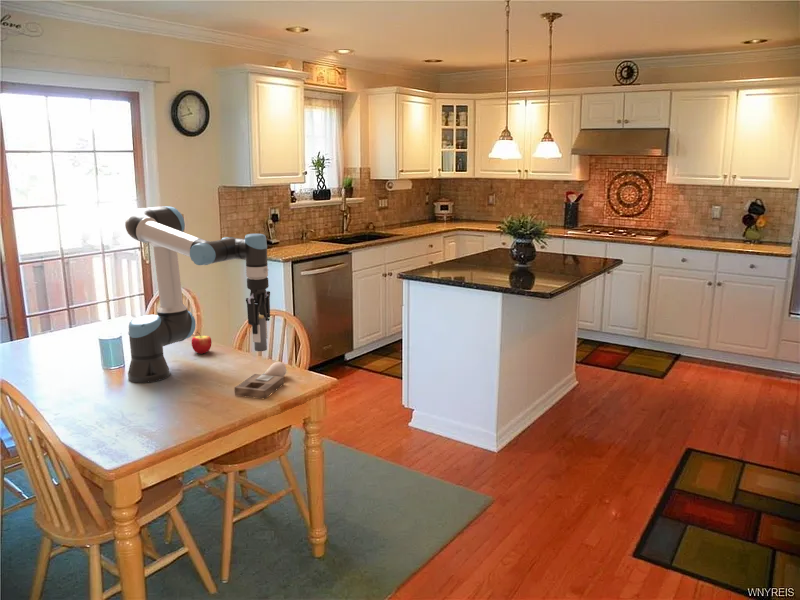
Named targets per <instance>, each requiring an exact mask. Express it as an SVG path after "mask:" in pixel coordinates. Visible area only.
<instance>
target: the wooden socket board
mask: <svg viewBox="0 0 800 600" xmlns="http://www.w3.org/2000/svg"><path fill="white" fill-rule="evenodd" d="M261 374H262V373H261ZM261 374H259V373H254V374H252V375H251V376H250V377H248V378H247V379H245V380H244V381H241V383H239V384H237V385H236V386H235V387H234V396H238V397H245V396H246V397H245V398H253V397H255V398H256V399H262V398H264V399H263V400H265V398H266V397H267V398H269V397H270V396H271V395H272V394H274V393H275V392H276V391H277V390H279V389H280V388H281V387H282V386H283V385H282V384H284V385H285V383H284V381H285V379H284V376H283V377H279V376H270V375H261ZM281 385H282V386H281ZM280 386H281V387H280ZM279 387H280V388H279ZM278 388H279V389H278ZM276 389H277V390H276ZM275 390H276V391H275ZM274 391H275V392H274ZM271 393H272V394H271ZM270 394H271V395H270ZM269 395H270V396H269ZM267 398H266V399H267Z"/></svg>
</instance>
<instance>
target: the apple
mask: <svg viewBox="0 0 800 600" xmlns="http://www.w3.org/2000/svg"><path fill="white" fill-rule="evenodd" d="M196 333H198V335H195V336H193V337H192V338H191V347H192V349H193V351H194V352H195V353H197V354H199V355H200V354H201V355H202V354H203V353H204V354H206V352H207V353H208V352H209V351H210V350H211V348H212V342H213V341H212V338H211V336H209V335H201V333H199V331H196Z"/></svg>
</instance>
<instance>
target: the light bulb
mask: <svg viewBox="0 0 800 600" xmlns="http://www.w3.org/2000/svg"><path fill="white" fill-rule="evenodd" d="M286 374H287V367H286V365H285V364H284V363H283V362H281V361H275V362H273V363H272V364H271V365H270V366H269V367H268V369H267V370H266V371H264V372H263V373H261V375H270V376H279V377H283V378H284V377H285V375H286Z"/></svg>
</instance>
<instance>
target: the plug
mask: <svg viewBox="0 0 800 600" xmlns="http://www.w3.org/2000/svg"><path fill="white" fill-rule="evenodd" d="M258 325H260V338H261V342H260V343H259V342H253V343H254V352H255V351H256V352H266V351H267V350H268V346H267V345H268V342H267V339H268V338H267V339H266V317H264V315H260V314H259V323H258Z"/></svg>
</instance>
